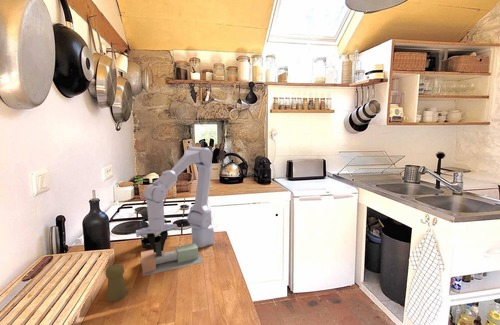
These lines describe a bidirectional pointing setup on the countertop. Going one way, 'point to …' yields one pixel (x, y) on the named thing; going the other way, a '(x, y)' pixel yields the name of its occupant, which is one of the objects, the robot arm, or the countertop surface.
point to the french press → (144, 214)
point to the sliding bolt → (164, 255)
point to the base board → (172, 265)
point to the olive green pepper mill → (115, 283)
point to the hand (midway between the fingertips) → (158, 250)
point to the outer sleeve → (187, 252)
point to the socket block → (148, 261)
